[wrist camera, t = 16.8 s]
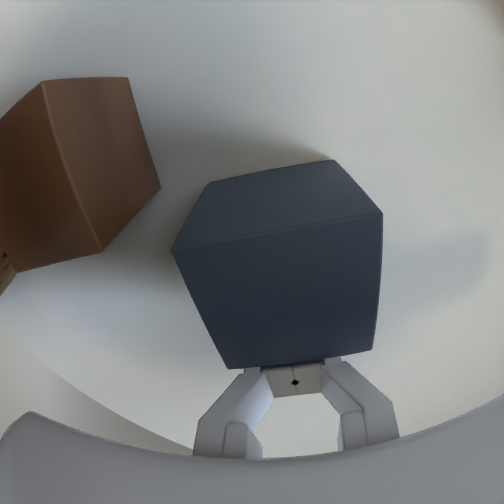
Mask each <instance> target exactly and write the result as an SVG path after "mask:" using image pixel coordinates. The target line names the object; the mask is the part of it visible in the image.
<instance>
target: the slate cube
mask: <svg viewBox="0 0 504 504" xmlns="http://www.w3.org/2000/svg"><path fill="white" fill-rule="evenodd" d="M382 246H383V213H382V212H381V210H380V209H379V208H378V207H377V206H376V204H375V203H374V202H373V201H372V200H371V199H370V198H369V196H368V195H367V194H366V193H365V192H364V191H363V190H362V188H361V187H360V186H359V185H358V184H357V183H356V182H355V181H354V180H353V179H352V178H351V176H350V175H349V174H348V173H347V172H346V171H345V170H344V169H343V168H342V167H341V166H340V165H339V164H338V163H337V162H336V161H335V160H328V161H321V162H314V163H308V164H302V165H296V166H290V167H284V168H278V169H273V170H267V171H262V172H257V173H252V174H247V175H242V176H237V177H233V178H228V179H223V180H219V181H215V182H210V183H209V184H208V185H207V187H206V189H205V190H204V192H203V194H202V195H201V197H200V199H199V200H198V202H197V204H196V205H195V207H194V209H193V211H192V212H191V214H190V216H189V218H188V219H187V221H186V223H185V224H184V226H183V228H182V230H181V232H180V233H179V235H178V237H177V239H176V241H175V242H174V244H173V246H172V248H171V252H172V254H173V256H174V259H175V261H176V263H177V266H178V268H179V270H180V273H181V275H182V277H183V279H184V282H185V284H186V286H187V288H188V290H189V292H190V295H191V297H192V299H193V301H194V303H195V305H196V307H197V310H198V312H199V314H200V316H201V318H202V320H203V322H204V324H205V326H206V328H207V330H208V332H209V334H210V336H211V338H212V340H213V342H214V344H215V346H216V348H217V350H218V352H219V354H220V356H221V357H222V359H223V361H224V363H225V365H226V367H227V369H242V368H253V367H265V366H275V365H284V364H293V363H300V362H307V361H314V360H320V359H326V358H332V357H338V356H344V355H349V354H355V353H360V352H364V351H369V350H372V347H373V341H374V334H375V327H376V320H377V312H378V303H379V292H380V281H381V266H382Z"/></svg>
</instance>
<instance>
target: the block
mask: <svg viewBox="0 0 504 504" xmlns="http://www.w3.org/2000/svg"><path fill="white" fill-rule="evenodd" d="M16 273H17V272H16V271H15V269H14V267H13V266H12V264H11V262H10V260H9V258H8V257H7V255H6V253H5V251H4V249H3V247H2V245H1V243H0V296H1V294H2V293H3V292H4V290H5V289H6V288H7V286H8V285H9V284H10V282H11V281H12V279H13V278H14V276H15V275H16Z"/></svg>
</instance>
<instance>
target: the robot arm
mask: <svg viewBox="0 0 504 504" xmlns="http://www.w3.org/2000/svg"><path fill="white" fill-rule="evenodd" d="M320 392H322V394H323V395H324V397H325V398H326V399H327V400H328V401H329V403H330V404H331V405H332V406H333V407H334V408H335V410H336V411H337V412H338V413H339V414H340V415H341V417H340V424H339V432H338V439H337V442H338V451H337V452H330V453H323V454H315V455H306V456H295V457H280V458H263V447H262V445H261V444H260V442H259V441H258V440H257V438H256V437H255V436H254V434H253V431H254V430H255V428H256V427H257V425H258V424H259V422H260V421H261V419H262V418H263V416H264V415H265V413H266V412H267V410H268V408H269V407H270V405H271V404H272V402H273V401H274V398H276V397H285V396H293V395H302V394H312V393H320ZM0 504H504V394H502V395H500V396H499V397H497V398H495V399H493V400H491V401H489V402H487V403H486V404H484V405H482V406H480V407H478V408H476V409H473V410H471V411H469V412H467V413H465V414H463V415H460V416H458V417H456V418H453V419H451V420H449V421H446V422H444V423H441V424H439V425H436V426H433V427H430V428H428V429H425V430H422V431H419V432H416V433H413V434H410V435H406V436H403V437H400V436H399V431H398V427H397V422H396V418H395V413H394V409H393V405H392V401H391V400H389V399H388V398H387V397H386V396H385V395H384V394H383V393H381V392H380V391H379V390H378V389H377V388H376V387H375V386H373V385H372V384H371V383H370V382H369V381H368V380H367V379H366V378H364V377H363V376H362V375H361V374H360V373H359V372H358V371H356V370H355V369H354V368H353V367H352V366H351V365H350V364H349V363H347V362H346V361H344V362H342V361H341V356H338V357H332V358H326V359H320V360H314V361H307V362H300V363H293V364H284V365H275V366H265V367H253V368H244V374H239V375H238V376H237V377H236V379H235V380H234V381H233V382H232V383H231V384H230V386H229V387H228V388H227V389H226V390H225V391H224V393H223V394H222V395H221V396H220V397H219V398H218V399H217V401H216V402H215V403H214V404H213V405H212V406H211V407H210V408H209V410H208V411H207V412H206V413H205V414H204V415H203V416H202V417H201V418H200V419H199V421H198V427H197V432H196V438H195V443H194V449H193V455H187V454H179V453H172V452H166V451H160V450H154V449H149V448H143V447H139V446H134V445H130V444H125V443H121V442H118V441H114V440H110V439H106V438H103V437H100V436H96V435H92V434H90V433H87V432H84V431H81V430H78V429H75V428H72V427H69V426H66V425H64V424H61V423H59V422H56V421H54V420H52V419H49V418H47V417H45V416H42V415H40V414H38V413H35V412H31V411H30V412H27V413H25V414H24V415H22V416H21V417H20V418H18V419H17V420H16V421H14V422H13V423H12V424H11V425H10V426H9V427H8V428H7V429H6V431H5V432H4V434H3V436H2V438H1V440H0Z"/></svg>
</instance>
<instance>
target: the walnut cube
mask: <svg viewBox="0 0 504 504" xmlns="http://www.w3.org/2000/svg"><path fill="white" fill-rule="evenodd" d="M160 189H161V186H160V183H159V180H158V177H157V174H156V171H155V168H154V165H153V162H152V159H151V156H150V153H149V150H148V146H147V143H146V140H145V137H144V133H143V130H142V127H141V124H140V120H139V117H138V113H137V110H136V106H135V103H134V99H133V95H132V92H131V88H130V84H129V80H128V78H124V77H92V78H71V79H58V80H48V81H42V82H41V83H39V84H38V85H37V86H36V87H34V88H33V89H32V90H31V91H30V92H29V93H27V94H26V95H25V96H24V97H23V98H22V99H21V100H19V101H18V102H17V103H16V104H15V105H14V106H13V107H12V108H11V109H10V110H9V111H8V112H7V113H6V114H5V115H4V116H3V117H2V118H1V119H0V243H1V245H2V247H3V249H4V251H5V253H6V255H7V257H8V258H9V260H10V262H11V264H12V266H13V267H14V269H15V271H16V272H17V273H19V272H23V271H27V270H31V269H35V268H39V267H43V266H47V265H51V264H55V263H59V262H63V261H67V260H71V259H76V258H80V257H84V256H88V255H93V254H97V253H101V252H103V251H104V250H105V249H106V248H107V246H108V245H109V244H110V243H111V242H112V241H113V239H114V238H115V237H116V236H117V235H118V234H119V232H120V231H121V230H122V229H123V228H124V227H125V226H126V225H127V223H128V222H129V221H130V220H131V219H132V218H133V217H134V216H135V215H136V214H137V212H138V211H139V210H140V209H141V208H142V207H143V206H144V205H145V204H146V203H147V202H148V201H149V200H150V199H151V198H152V197H153V196H154V195H155V194H156V193H157V192H158V191H159V190H160Z"/></svg>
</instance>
